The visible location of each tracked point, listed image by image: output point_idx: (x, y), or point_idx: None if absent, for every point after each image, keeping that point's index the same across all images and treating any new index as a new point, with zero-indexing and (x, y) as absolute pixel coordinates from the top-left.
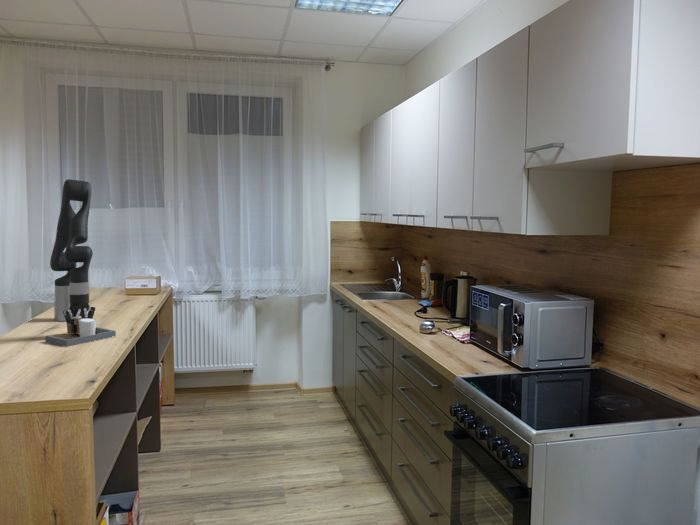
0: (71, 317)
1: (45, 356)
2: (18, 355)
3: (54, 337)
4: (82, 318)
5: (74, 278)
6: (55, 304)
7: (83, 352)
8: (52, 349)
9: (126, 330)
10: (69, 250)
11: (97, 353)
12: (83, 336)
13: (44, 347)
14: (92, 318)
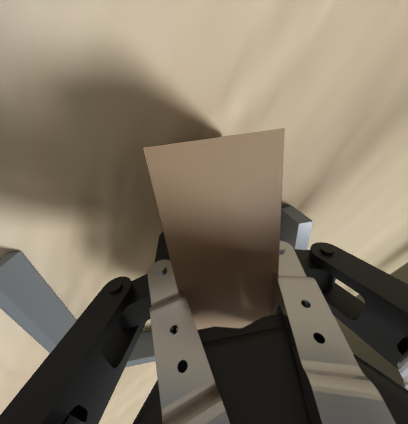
0: (151, 318)
1: (11, 398)
2: None
3: (29, 331)
4: (247, 316)
5: None
6: None
7: (114, 395)
8: (36, 357)
9: (380, 251)
10: None
11: (138, 405)
12: (152, 357)
13: (4, 330)
14: (331, 289)
